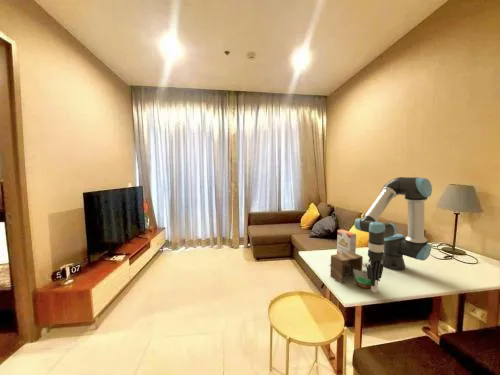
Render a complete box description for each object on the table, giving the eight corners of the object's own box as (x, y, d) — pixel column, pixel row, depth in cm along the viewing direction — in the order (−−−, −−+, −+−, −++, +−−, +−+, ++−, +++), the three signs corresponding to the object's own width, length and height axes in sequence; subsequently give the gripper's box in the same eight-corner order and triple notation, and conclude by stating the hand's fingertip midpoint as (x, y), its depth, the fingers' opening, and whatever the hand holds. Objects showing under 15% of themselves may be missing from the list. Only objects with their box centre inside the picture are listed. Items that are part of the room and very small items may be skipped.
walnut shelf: (350, 271, 150) (351, 251, 149) (361, 277, 142) (362, 256, 141) (330, 276, 144) (331, 255, 143) (340, 283, 136) (341, 260, 134)
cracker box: (336, 254, 180) (337, 229, 178) (342, 253, 182) (343, 229, 180) (349, 261, 167) (350, 234, 165) (355, 260, 169) (356, 233, 167)
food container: (352, 287, 130) (352, 271, 130) (352, 283, 136) (352, 267, 135) (375, 292, 125) (376, 275, 124) (375, 287, 131) (375, 271, 130)
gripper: (378, 246, 128) (376, 285, 130) (361, 249, 123) (359, 290, 125) (390, 250, 121) (388, 291, 123) (373, 254, 116) (371, 297, 118)
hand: (374, 290), depth 124 cm, fingers closed
